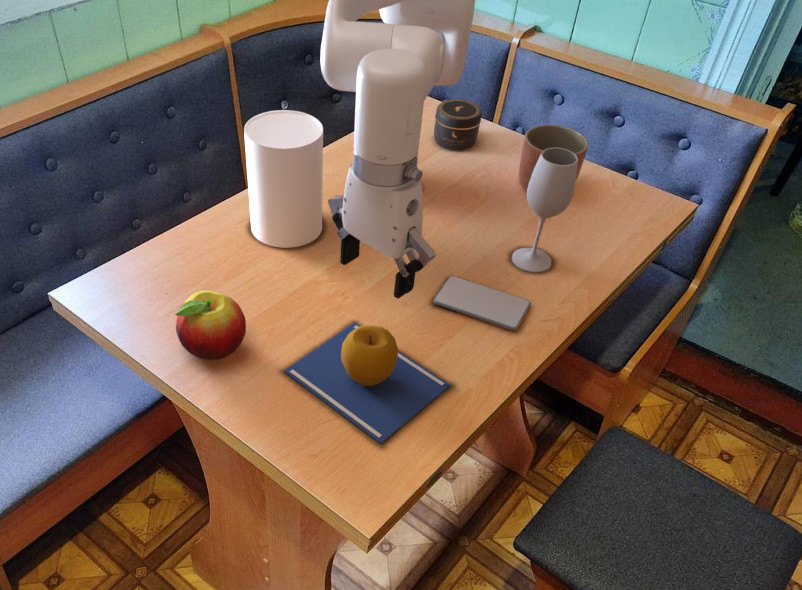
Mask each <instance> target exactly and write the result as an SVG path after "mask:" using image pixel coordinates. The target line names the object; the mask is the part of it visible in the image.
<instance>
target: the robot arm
mask: <svg viewBox="0 0 802 590" xmlns="http://www.w3.org/2000/svg"><path fill="white" fill-rule="evenodd" d="M475 7H476V0H328V2H327V7H326V9H325V18H324V22H323V23H324V25H323V31H322V37H321V42H320V43H321V44H320V58H319V59H320V60H319V61H320V71H321V74H322V77H323V80H324V81H325V82H326V84H327V85H328V86H329V87H331V88H332V89H334V90H337V91H341V92H349V93H350V92H351V93H355V106H354V129H353V130H354V131H353V151H352V152H353V154H352V162H351V164H350V166H349V169H348V172H347V176H346V180H345V186H344V191H343V194H341V195H340V194H339V195H334V196H332V197H330V198H328V199H327V203H328V207H329V210H330V213H331V214H332V215H331V219H332V221H333V223H334V225H335V227H336V229H337V231H336V235H337V237H338V238H339V239H340V256H339V257H340V258H339V262H340V264H341V265H342V266H346V265H348V264H350V263H351V262H353V261H354V260H356V259H357V258H359V257H360V250H361V249H360V247H361V242H362V243H364V244H366V245H367V246H369V247H370V248H373V249H374V250H376V251H377V252H380V253H381V254H382V255H385V256H386V257H389V258H391V259H393V261H394V262H395V264H396V267H397V269H398V272H397V273H396V274H395V279H394V287H393V288H394V290H393V296H394V298H396V299H397V300H399V299H401V298H402V297H403V296H405V295H406V294H410V292H412V290H413V289H414V287H415V282H416V273H418V272H420V271H421V270H423V269H425V268H426V267H427V266H429V264H431V262H432V261H433V260H434V259H435V258H436V256H437V252H436V251H435V250H434V249H433V248H432V246H431V245H430V244H429V243H428V242H427V240H426V239H425V238H424V237H423V236H422V235H423V224H424V194H423V185H422V178H423V174H424V172H423V170H421V169H419V168H418V159H419V149H420V141H421V140H420V139H421V132H422V131H421V130H422V123H423V122H422V121H423V114H424V113H423V112H424V106H425V105H424V104H425V101H426V99H427V97H428V96H429V95H430V93H431V91H433V89H434V87H435V86H437V87H451V86H454V85H456V84H457V83H459V82H460V81H461V78H462V76H463V74H464V71H465V67H466V62H467V58H468V57H467V56H468V52H469V51H468V50H469V44H470V37H471V33H472V27H473V20H474V15H475ZM375 11H379V16H380V19H381V21H382V22H371V21H358V20H359V19H361V18H362V17H364V16H366V15H368V14H371V13H373V12H375ZM417 254H418V255H417ZM405 255H406V257H407V258H408V261H409V262H406V259H405V258H404V256H405Z"/></svg>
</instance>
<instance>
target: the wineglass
mask: <svg viewBox="0 0 802 590" xmlns="http://www.w3.org/2000/svg"><path fill="white" fill-rule="evenodd" d="M577 167H578V157H577V156H576V154H574V153H573V152H571V151H569V150H567V149H563V148H548V149H545V150H544V151H543V152H542V153H541V155H540V157H539V159H538V161H537V163H536V166H535V168H534V170H533V173H532V176H531V178H530V181H529V184H528V189H527V191H526V200H527V204H528V207H530V210H531V211H532V213H534V214H535V215H536V216H537V217H538V219H539V222H538V223H539V224H538V227H537V230H536V234H535V238H534V242H533V245H532V247H521V248H517V249H516V250H514V251H513V253H512V255H511V261H512V264H514V265H515V266H516V267H517V268H518V269H520V270H522V271H525V272H528V273H543V272H545V271H548V270H549V269H550V268H551V266H552V262H553V261H552V258H551V257H550V255H549V254H547V252H545V251H543V250H541V249H538V245H539V242H540V239H541V234H542V231H543V227H544V224H545V222H546V220H548V219H551V218H554V217H556V216H558V215H560V214H562V213H563V212H565V210H566V209H567V208H568V207H569V205H570V204H571V202H572V200H573V197H574V193H575V188H576V182H577V180H576V176H577Z"/></svg>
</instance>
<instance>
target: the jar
mask: <svg viewBox="0 0 802 590" xmlns="http://www.w3.org/2000/svg"><path fill="white" fill-rule="evenodd" d="M482 114H483V113H482V108H481V107H480V106H479V105H478V104H476V103H474V102H472V101H469V100H465V99H458V98H457V99H456V98H455V99H454V98H453V99H447V100H444V101H442V102H440V103H439V104H438V105H437V106H436V111H435V116H434V119H435V120H434V129H433V135H434V141H435V142H436V144H437V145H438V146H439V147H441V148H442V149H446V150H449V151H456V152H457V151H459V152H460V151H467V150H469V149H470V148H472V147H473V146H474V145H475V144H476V142H477V139H478V136H479V132H480V126H481V122H482Z"/></svg>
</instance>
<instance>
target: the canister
mask: <svg viewBox="0 0 802 590" xmlns="http://www.w3.org/2000/svg"><path fill="white" fill-rule="evenodd" d="M243 133H244V134H243V135H244V136H243V137H244V148H245V162H246V163H245V164H246V176H247V190H248V202H249V218H250V229H251V233H252V235H253V237H254V238H256V239H257V240H258V241H259V242H261V243H263V244H265V245H267V246H270V247H275V248H282V249H289V248H290V249H291V248H297V247H302V246H305V245H308V244H310V243H312V242H314V241H315V240H316V239H318V238H319V236H320V235H321V234H322V231H323V186H324V185H323V184H324V183H323V181H324V180H323V178H324V177H323V175H324V174H323V173H324V172H323V171H324V126H323V124H322V122H321V121H320V120H319V119H318V118H316V117H315V116H313V115H311V114H309V113H306V112H303V111H298V110H290V109H276V110H270V111H265V112H262V113H258V114H257V115H254V116H253V117H251V118H250V119H248V120H247V121H246V123H245V125H244V127H243Z"/></svg>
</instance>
